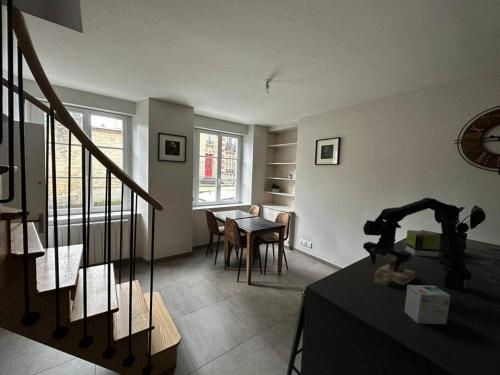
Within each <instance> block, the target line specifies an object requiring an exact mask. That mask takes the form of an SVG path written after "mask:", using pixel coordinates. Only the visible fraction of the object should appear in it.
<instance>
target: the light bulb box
mask: <svg viewBox="0 0 500 375" xmlns="http://www.w3.org/2000/svg"><path fill="white" fill-rule="evenodd" d="M406 285H407V286H406V287H407V288H406V295H405V296H406V297H405V304H404V305H405V306H404V312H405V314H407V315H408V316H409V317H410V318H411V319H412V320H413V321H414V322H416V323H417V324H427V325H428V324H429V325H431V324H434V325H447V322H448V315H449V314H448V313H449V306H450V301H451V295H450V294H449V293H447V292H446V291H444V290H443V289H440V288H439V287H437V286H436V285H417V284H414V285H413V284H406Z"/></svg>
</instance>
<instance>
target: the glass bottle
mask: <svg viewBox="0 0 500 375" xmlns="http://www.w3.org/2000/svg"><path fill="white" fill-rule="evenodd" d="M437 234H438V235H440V247H439V252H442V253H444V252H445V251H444V243H443V236H442V232H441V233H437ZM457 242H458V250H459V254H460V255H461V254H463V253H464V252H465V251H466V249H467V243H466V241H465V240H464V239H463V238H462V237H460V236H458V235H457Z"/></svg>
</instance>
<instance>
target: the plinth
mask: <svg viewBox="0 0 500 375" xmlns="http://www.w3.org/2000/svg"><path fill="white" fill-rule="evenodd" d="M389 263H390V262H389ZM389 263H387V264H384V265H383V266H382V265H381V267H378V268H377V270H379V269H382V270H384V271H387V272H390V273H391V281H393V282H395V283H397V284H399V285H403V286H405V285H408V283H410V282H411V281H412V280H413V279H415V277H416V272H415V271H413V270H410V269H407V268H404V271H403V272H401V273H398V272H396V273H394V271H392V270H390V269H389ZM377 270H376V271H377Z"/></svg>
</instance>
